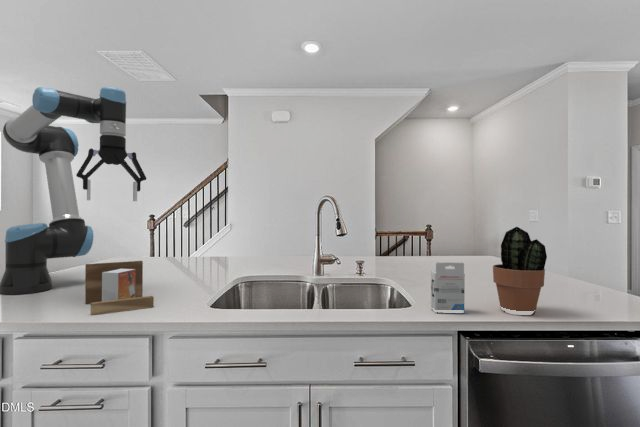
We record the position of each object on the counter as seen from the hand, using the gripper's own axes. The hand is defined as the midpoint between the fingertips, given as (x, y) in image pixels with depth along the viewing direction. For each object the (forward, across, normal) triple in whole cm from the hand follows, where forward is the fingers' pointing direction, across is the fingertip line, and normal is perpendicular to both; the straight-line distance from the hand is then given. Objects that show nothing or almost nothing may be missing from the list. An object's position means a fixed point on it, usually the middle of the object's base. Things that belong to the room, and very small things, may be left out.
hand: (112, 200), depth 128 cm
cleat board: (+32, 0, -13) cm, 34 cm away
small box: (+32, 0, -13) cm, 35 cm away
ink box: (+32, +77, -74) cm, 111 cm away
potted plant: (+32, +94, -86) cm, 131 cm away
